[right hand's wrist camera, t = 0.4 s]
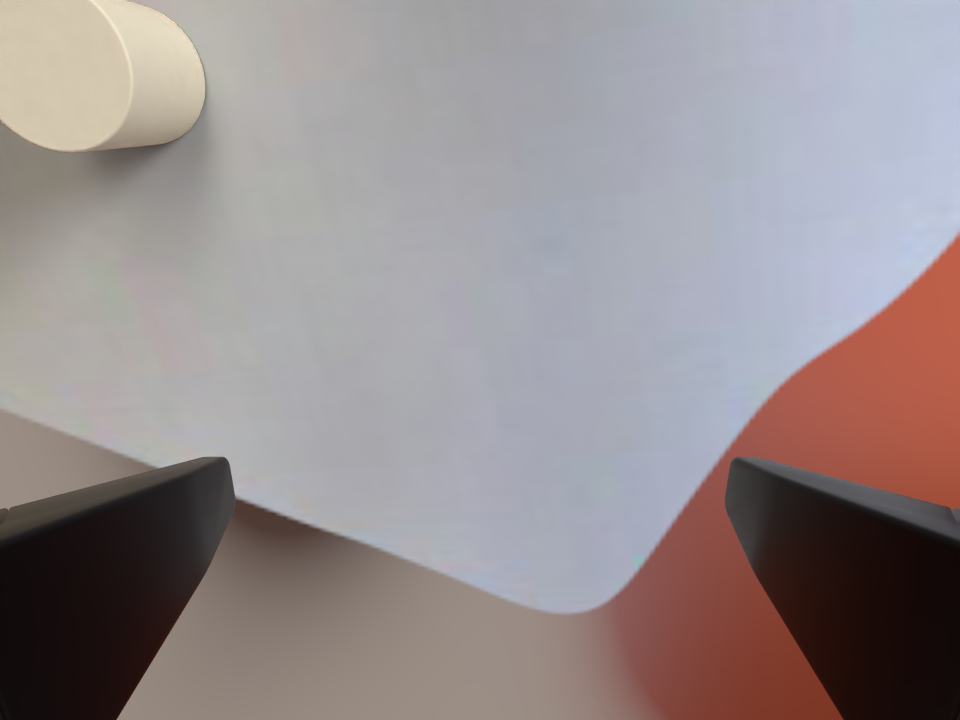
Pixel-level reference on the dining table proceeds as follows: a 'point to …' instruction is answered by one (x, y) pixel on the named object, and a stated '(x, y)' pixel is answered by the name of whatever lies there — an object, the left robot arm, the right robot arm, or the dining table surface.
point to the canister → (96, 75)
